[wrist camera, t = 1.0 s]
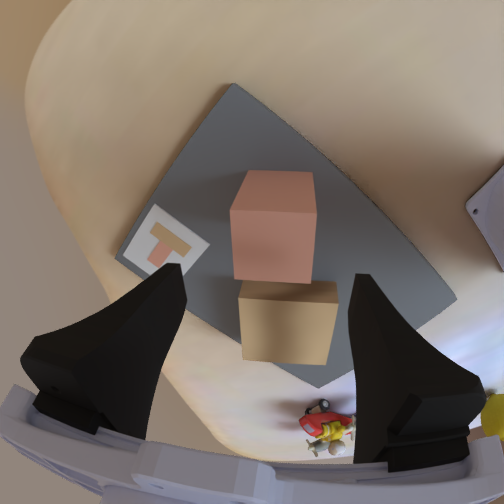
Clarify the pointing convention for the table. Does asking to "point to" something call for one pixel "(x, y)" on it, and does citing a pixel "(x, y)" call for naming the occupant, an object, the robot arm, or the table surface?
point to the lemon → (493, 416)
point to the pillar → (274, 227)
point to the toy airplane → (327, 429)
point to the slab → (287, 321)
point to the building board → (326, 236)
